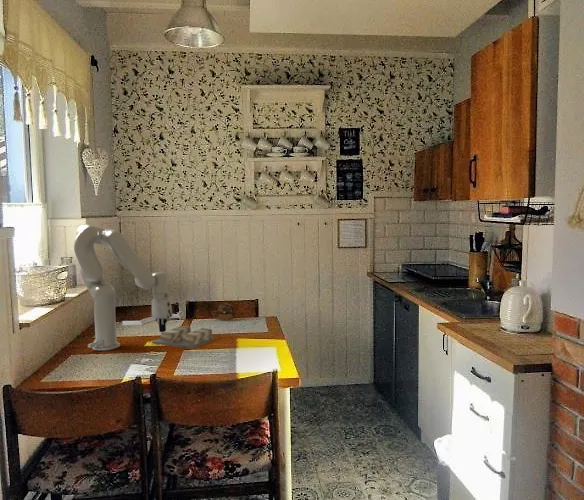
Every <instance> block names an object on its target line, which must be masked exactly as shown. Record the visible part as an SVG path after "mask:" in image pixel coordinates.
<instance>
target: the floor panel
mask: <svg viewBox="0 0 584 500" xmlns="http://www.w3.org/2000/svg"><path fill="white" fill-rule="evenodd" d="M215 339H216V337H214V336H212V338H211V339H208V340H206V341H203V342H201V343H199V344H196V345H194V346H190V345H186V342H183V340H180V341H178V342H175V343H165V342H161V337H160V338H158V339H155V340H152V341H151V344H152V343H154V344H155V345H160V344H162V346H168V345H171V347H176V346H178V347H177V348H184V347H185V349H186V348H188V349H196V348H198V347H201V346H203V345H206V344H208V343H210V342H212V341H214V340H215Z"/></svg>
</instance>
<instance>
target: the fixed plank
mask: <svg viewBox="0 0 584 500" xmlns="http://www.w3.org/2000/svg"><path fill="white" fill-rule="evenodd" d="M212 337H213V329H212V328H205V327H201V328H198V329H196V330H194V331H191V332H190V333H187V334H185V335H182V338H183V342H186V345H190V346H194V345H196V344H199V343H201V342H203V341H206V340H208V339H211V338H212Z"/></svg>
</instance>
